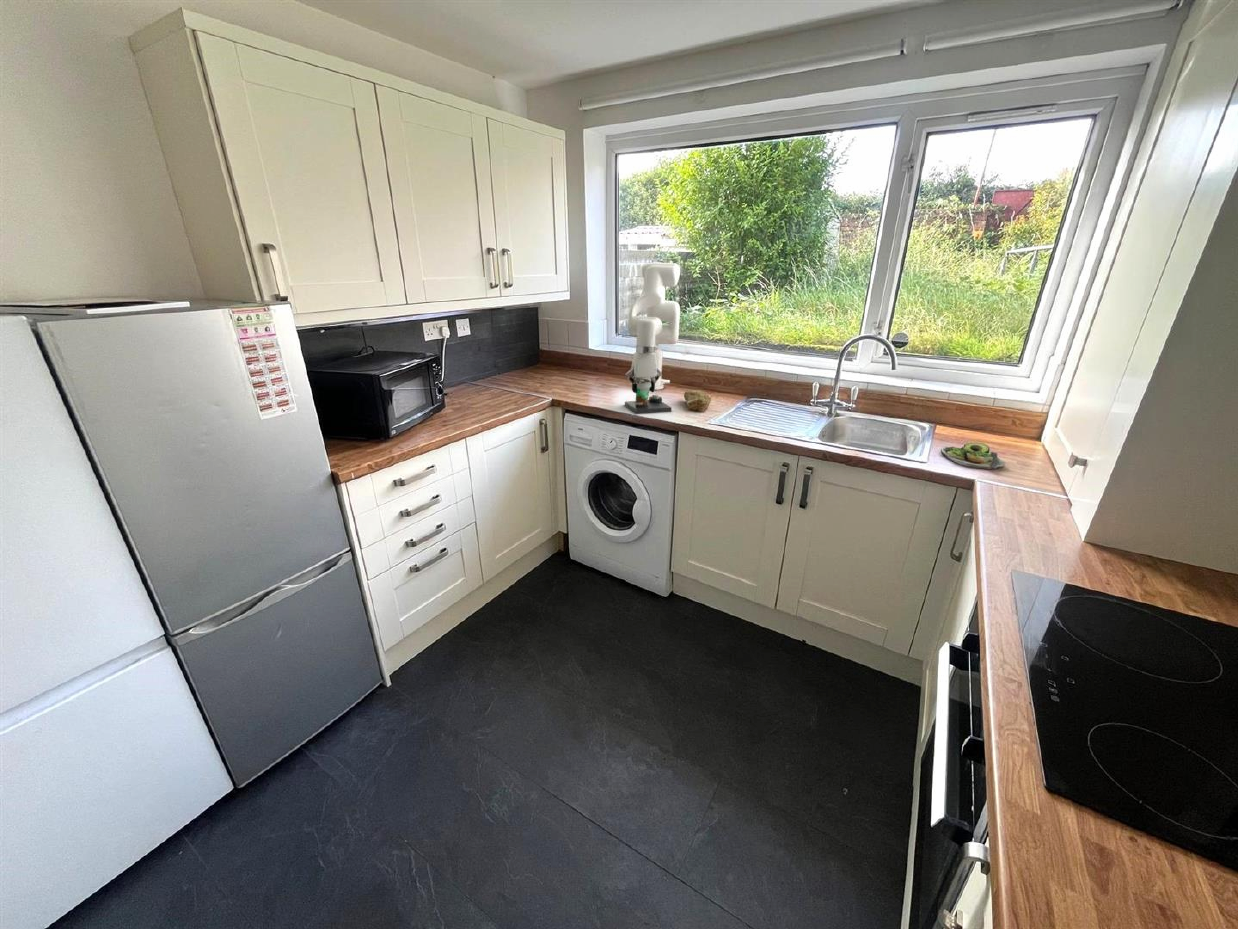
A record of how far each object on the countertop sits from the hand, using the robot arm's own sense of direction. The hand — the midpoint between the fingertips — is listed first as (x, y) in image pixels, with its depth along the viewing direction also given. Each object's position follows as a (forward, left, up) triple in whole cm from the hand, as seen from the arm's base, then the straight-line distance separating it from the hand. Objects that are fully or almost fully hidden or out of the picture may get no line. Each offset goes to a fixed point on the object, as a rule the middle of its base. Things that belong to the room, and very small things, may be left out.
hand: (643, 391), depth 212 cm
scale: (-2, 0, -8) cm, 8 cm away
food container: (0, 0, -5) cm, 5 cm away
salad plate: (-84, +86, -8) cm, 121 cm away
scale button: (-8, -4, -4) cm, 10 cm away
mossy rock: (-25, +1, -8) cm, 27 cm away
